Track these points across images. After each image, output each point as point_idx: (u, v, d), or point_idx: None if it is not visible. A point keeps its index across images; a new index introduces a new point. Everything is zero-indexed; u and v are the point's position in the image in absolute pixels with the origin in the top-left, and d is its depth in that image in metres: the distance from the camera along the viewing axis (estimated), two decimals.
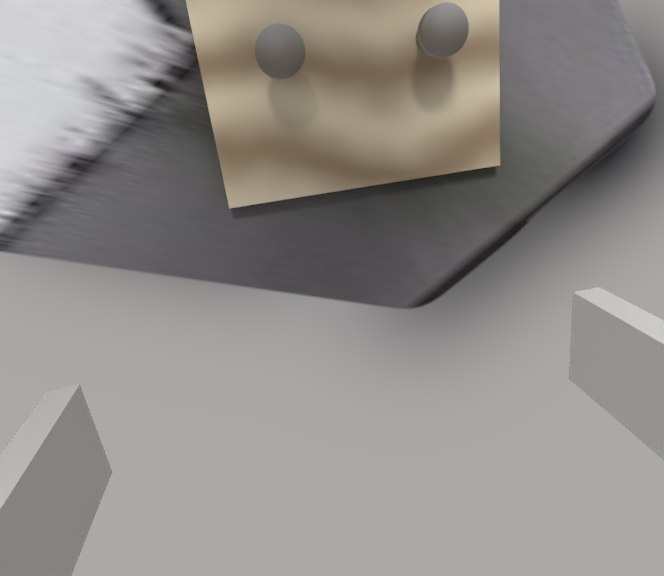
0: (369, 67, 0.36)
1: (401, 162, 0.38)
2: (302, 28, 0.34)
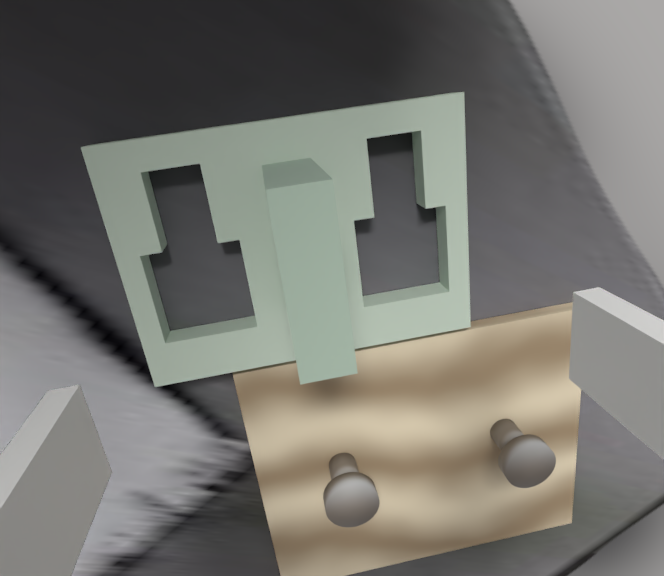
0: (439, 461, 0.33)
1: (468, 532, 0.36)
2: (369, 438, 0.31)
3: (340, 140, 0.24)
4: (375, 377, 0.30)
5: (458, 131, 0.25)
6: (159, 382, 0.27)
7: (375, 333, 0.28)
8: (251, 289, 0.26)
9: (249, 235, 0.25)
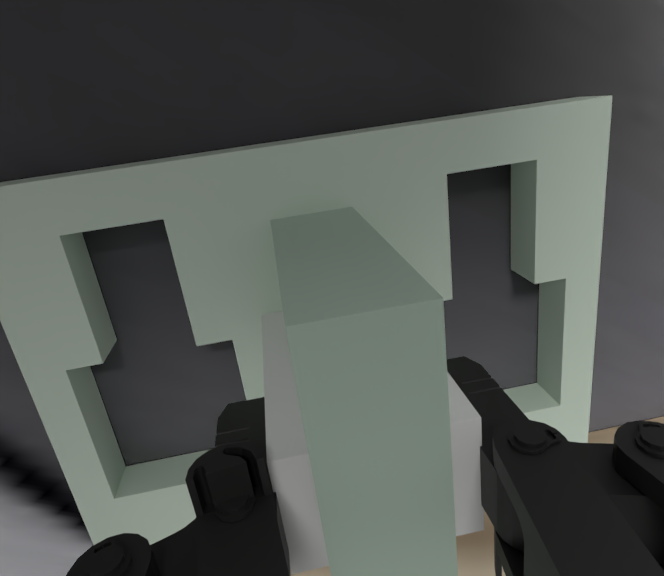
0: None
1: None
2: None
3: (403, 177, 0.14)
4: None
5: (596, 161, 0.15)
6: None
7: None
8: None
9: (249, 332, 0.15)
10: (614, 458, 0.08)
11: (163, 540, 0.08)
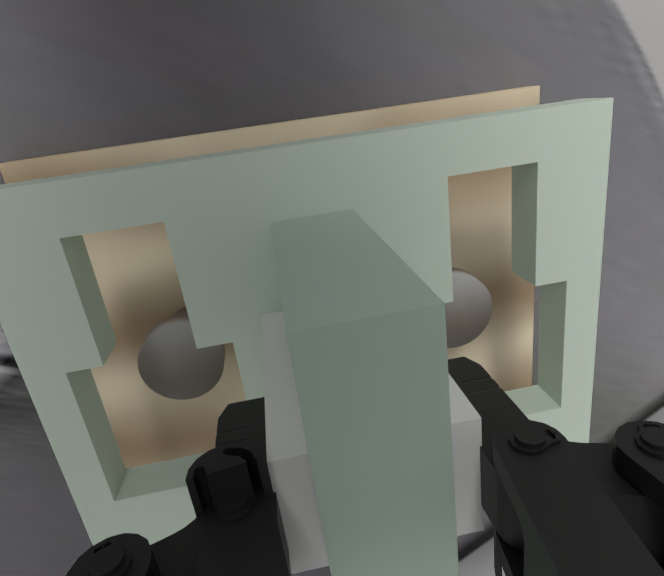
0: None
1: None
2: None
3: (404, 180, 0.14)
4: None
5: (597, 163, 0.15)
6: None
7: None
8: None
9: (249, 335, 0.15)
10: (614, 458, 0.08)
11: (163, 540, 0.08)
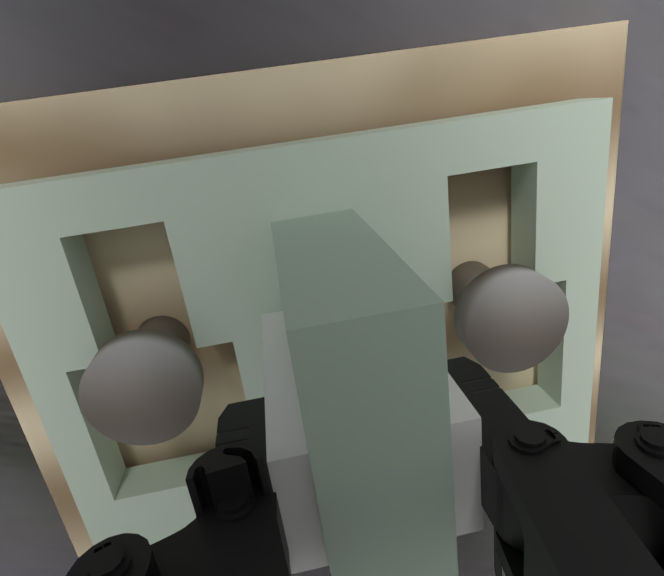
0: None
1: None
2: None
3: (403, 179, 0.14)
4: (207, 149, 0.15)
5: (597, 163, 0.15)
6: None
7: None
8: None
9: (249, 334, 0.15)
10: (614, 458, 0.08)
11: (163, 539, 0.08)
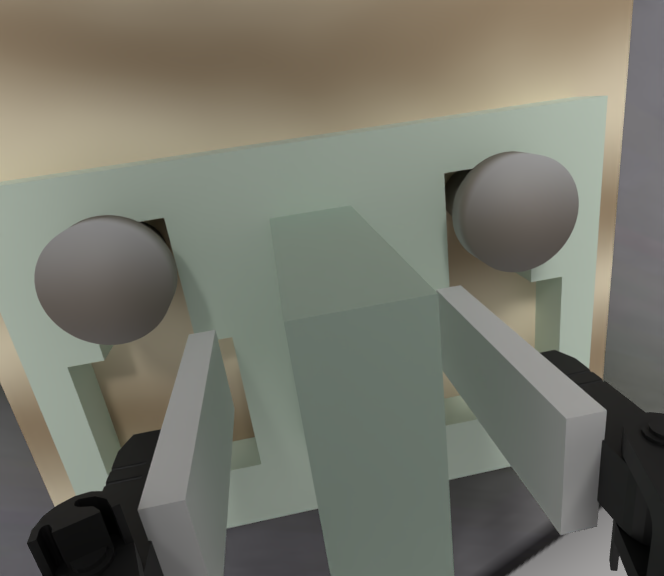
0: None
1: None
2: None
3: (401, 176, 0.14)
4: (181, 27, 0.14)
5: (592, 161, 0.15)
6: None
7: None
8: (252, 410, 0.16)
9: (248, 330, 0.15)
10: None
11: None
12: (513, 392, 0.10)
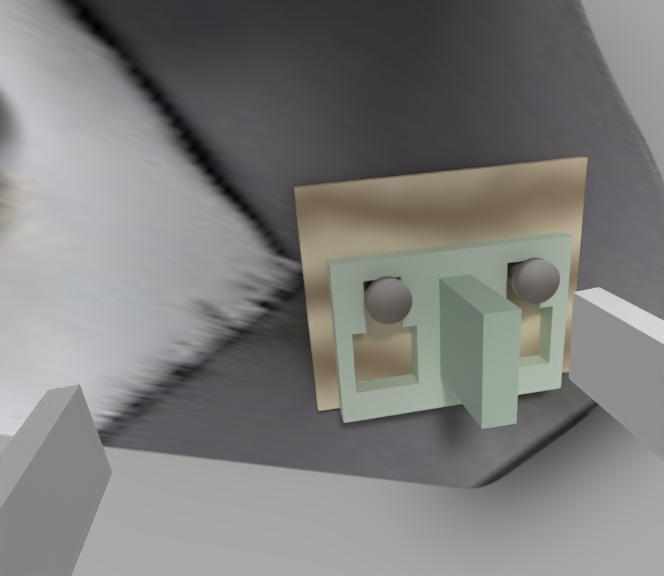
0: None
1: None
2: None
3: (491, 263, 0.36)
4: (411, 204, 0.35)
5: (566, 259, 0.37)
6: (347, 419, 0.39)
7: None
8: (419, 358, 0.38)
9: (423, 322, 0.37)
10: None
11: None
12: None
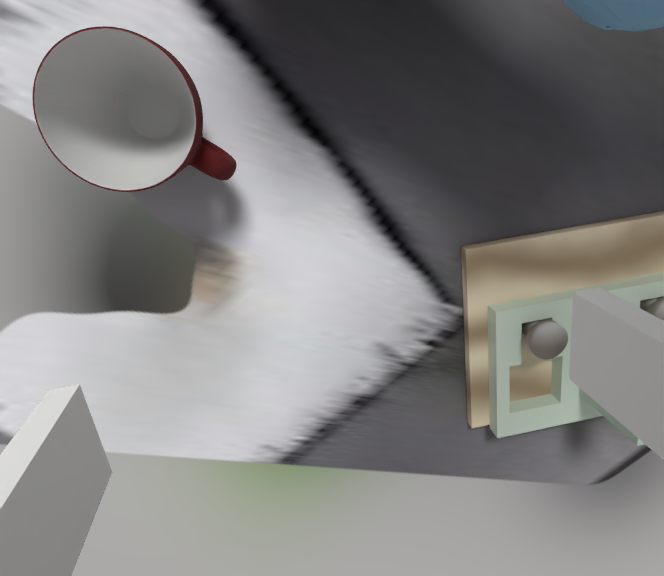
0: None
1: None
2: None
3: None
4: (559, 255, 0.42)
5: None
6: (500, 435, 0.46)
7: None
8: (562, 382, 0.44)
9: (568, 353, 0.43)
10: None
11: None
12: None
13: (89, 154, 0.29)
